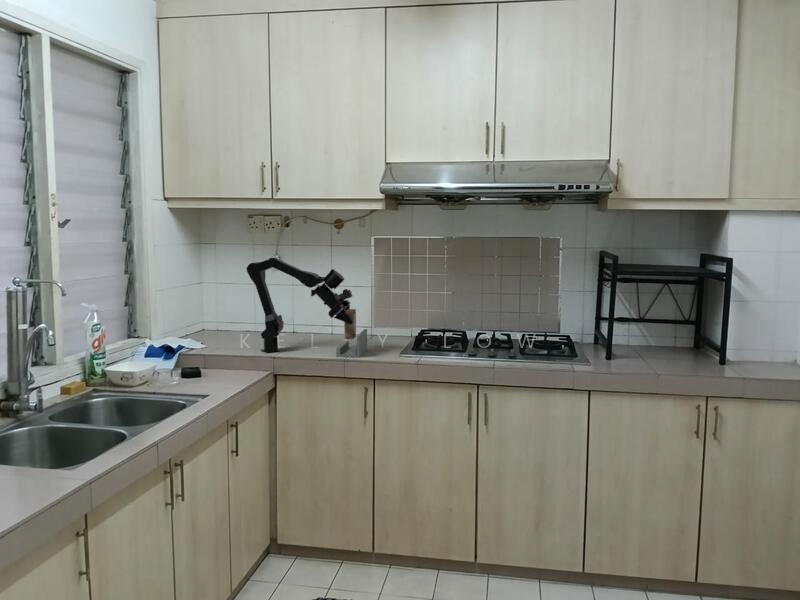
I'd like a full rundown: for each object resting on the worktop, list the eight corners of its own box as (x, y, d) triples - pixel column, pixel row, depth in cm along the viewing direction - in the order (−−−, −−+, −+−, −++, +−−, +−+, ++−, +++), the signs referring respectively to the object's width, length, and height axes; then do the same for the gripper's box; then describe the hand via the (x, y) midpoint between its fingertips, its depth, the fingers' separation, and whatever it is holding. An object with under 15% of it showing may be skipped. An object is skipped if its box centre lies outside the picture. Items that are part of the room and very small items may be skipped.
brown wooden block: (344, 339, 271) (343, 310, 270) (347, 336, 277) (346, 309, 276) (353, 339, 271) (353, 311, 269) (356, 336, 277) (356, 309, 275)
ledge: (336, 356, 266) (336, 335, 265) (345, 348, 284) (345, 328, 283) (359, 357, 265) (359, 336, 264) (367, 349, 283) (367, 329, 282)
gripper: (335, 285, 263) (362, 312, 263) (345, 281, 281) (370, 306, 281) (317, 304, 265) (343, 331, 264) (328, 299, 283) (352, 324, 283)
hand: (353, 322), depth 273 cm, fingers closed on brown wooden block, 6 cm apart
